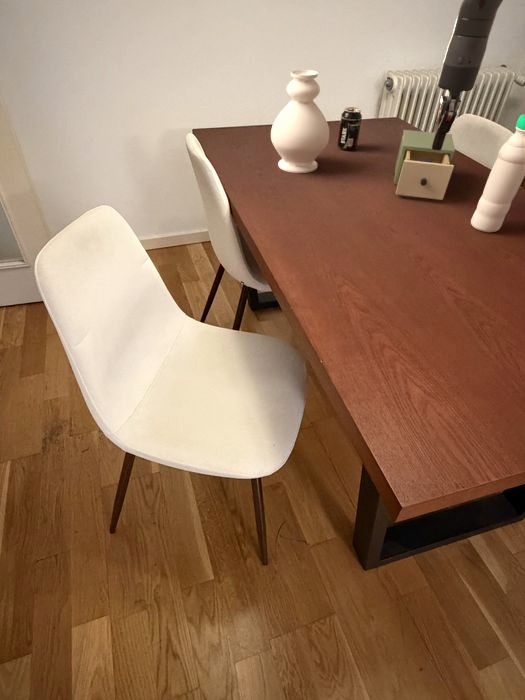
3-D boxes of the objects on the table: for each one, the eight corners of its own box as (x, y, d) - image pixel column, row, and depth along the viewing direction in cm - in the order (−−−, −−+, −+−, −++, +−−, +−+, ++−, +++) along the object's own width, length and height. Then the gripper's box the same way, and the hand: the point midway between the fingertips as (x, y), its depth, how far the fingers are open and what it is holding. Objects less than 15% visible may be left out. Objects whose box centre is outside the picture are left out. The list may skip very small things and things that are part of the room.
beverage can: (336, 144, 143) (341, 106, 135) (355, 145, 143) (361, 106, 135) (337, 151, 138) (343, 112, 130) (357, 151, 138) (364, 112, 130)
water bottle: (499, 235, 98) (553, 122, 80) (469, 230, 100) (515, 118, 82) (499, 223, 103) (549, 113, 85) (469, 218, 104) (513, 109, 87)
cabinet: (442, 190, 117) (455, 150, 109) (393, 184, 119) (403, 145, 111) (439, 171, 127) (451, 134, 119) (395, 166, 129) (404, 129, 122)
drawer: (442, 201, 109) (454, 168, 103) (395, 196, 111) (403, 162, 105) (440, 180, 119) (450, 148, 113) (397, 175, 121) (404, 144, 115)
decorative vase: (332, 161, 132) (344, 69, 114) (314, 180, 120) (324, 82, 103) (282, 152, 137) (286, 63, 119) (261, 170, 125) (261, 75, 108)
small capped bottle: (422, 182, 115) (430, 157, 110) (426, 187, 113) (434, 161, 108) (411, 182, 115) (418, 157, 110) (414, 187, 113) (422, 161, 108)
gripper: (485, 69, 79) (454, 160, 92) (477, 57, 88) (450, 141, 101) (445, 66, 81) (420, 156, 93) (442, 55, 90) (419, 138, 102)
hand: (436, 148), depth 97 cm, fingers closed
